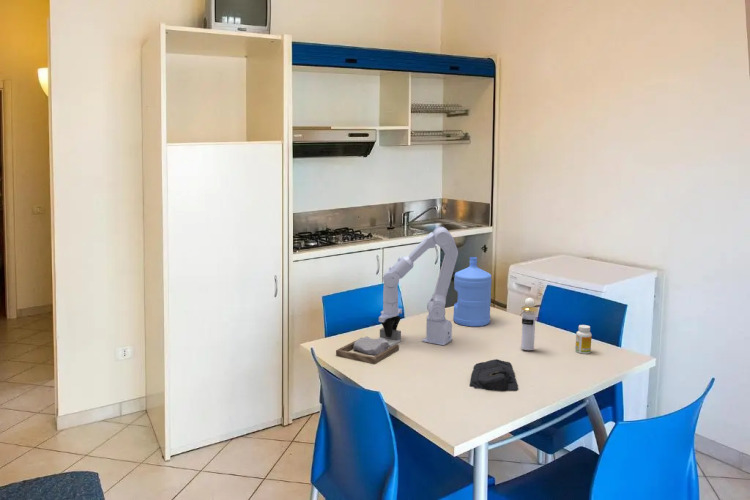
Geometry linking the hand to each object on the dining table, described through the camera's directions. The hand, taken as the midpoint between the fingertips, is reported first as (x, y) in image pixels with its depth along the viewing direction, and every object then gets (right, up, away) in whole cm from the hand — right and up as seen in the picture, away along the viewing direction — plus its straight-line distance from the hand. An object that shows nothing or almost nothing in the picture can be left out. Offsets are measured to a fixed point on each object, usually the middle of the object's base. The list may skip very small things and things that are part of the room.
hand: (390, 335), depth 246 cm
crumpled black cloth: (+33, -10, -37) cm, 51 cm away
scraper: (-2, -2, -2) cm, 4 cm away
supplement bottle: (+71, -5, -12) cm, 72 cm away
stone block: (-8, -4, -10) cm, 14 cm away
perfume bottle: (+51, -4, -10) cm, 52 cm away
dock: (-8, -4, -13) cm, 16 cm away
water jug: (+35, +2, +25) cm, 44 cm away
